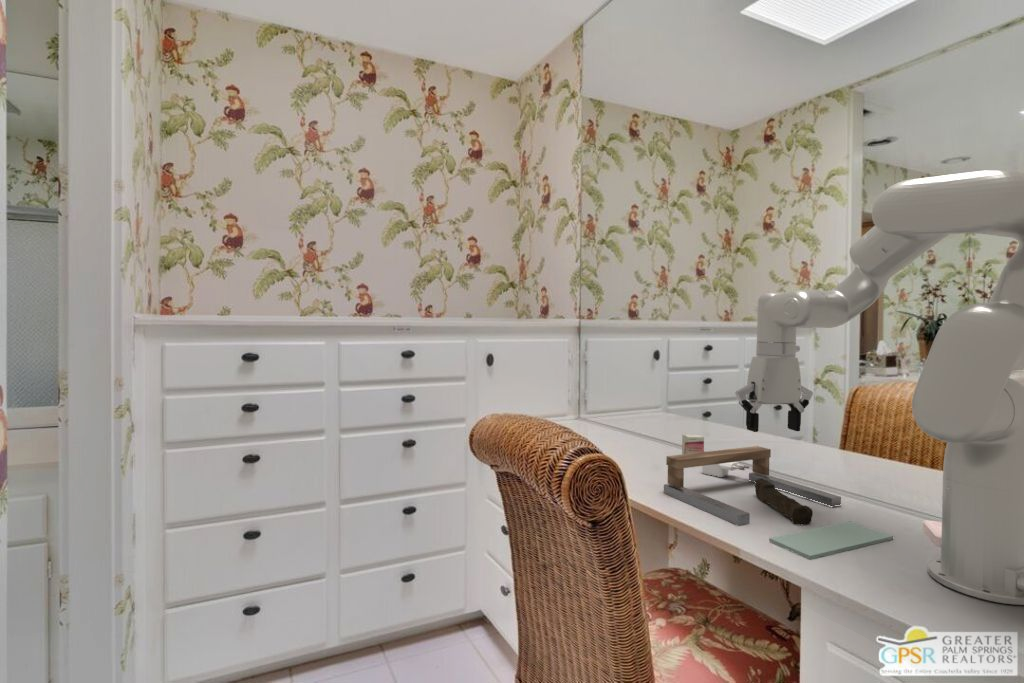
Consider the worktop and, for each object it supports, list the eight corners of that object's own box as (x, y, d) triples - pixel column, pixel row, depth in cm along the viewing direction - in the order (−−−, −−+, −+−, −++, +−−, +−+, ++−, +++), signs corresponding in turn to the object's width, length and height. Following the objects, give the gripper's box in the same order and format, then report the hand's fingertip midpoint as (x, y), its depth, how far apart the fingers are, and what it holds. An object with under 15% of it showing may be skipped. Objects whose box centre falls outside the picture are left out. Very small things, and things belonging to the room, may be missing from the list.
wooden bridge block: (770, 474, 130) (770, 449, 130) (677, 488, 118) (678, 460, 118) (757, 470, 133) (757, 446, 133) (666, 483, 122) (666, 456, 122)
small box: (686, 464, 149) (687, 436, 149) (681, 460, 153) (681, 433, 153) (704, 464, 149) (704, 436, 149) (698, 460, 153) (699, 433, 153)
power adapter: (750, 479, 134) (750, 457, 134) (742, 483, 130) (742, 460, 130) (709, 471, 142) (709, 449, 142) (700, 474, 139) (700, 452, 138)
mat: (893, 539, 95) (893, 536, 95) (809, 559, 87) (810, 555, 87) (849, 524, 103) (849, 521, 103) (769, 541, 94) (769, 538, 94)
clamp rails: (840, 505, 114) (841, 496, 114) (738, 525, 102) (738, 515, 102) (757, 479, 134) (757, 471, 134) (663, 493, 122) (663, 484, 122)
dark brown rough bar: (813, 526, 102) (814, 503, 102) (793, 526, 102) (793, 502, 102) (768, 496, 121) (768, 476, 121) (750, 496, 121) (751, 476, 121)
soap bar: (957, 535, 98) (957, 523, 98) (975, 554, 90) (975, 540, 90) (921, 531, 101) (922, 518, 101) (936, 548, 92) (936, 535, 92)
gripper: (800, 350, 116) (797, 426, 117) (728, 349, 114) (726, 427, 114) (825, 352, 109) (822, 433, 110) (748, 351, 106) (746, 434, 107)
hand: (773, 430), depth 112 cm, fingers open, 9 cm apart
